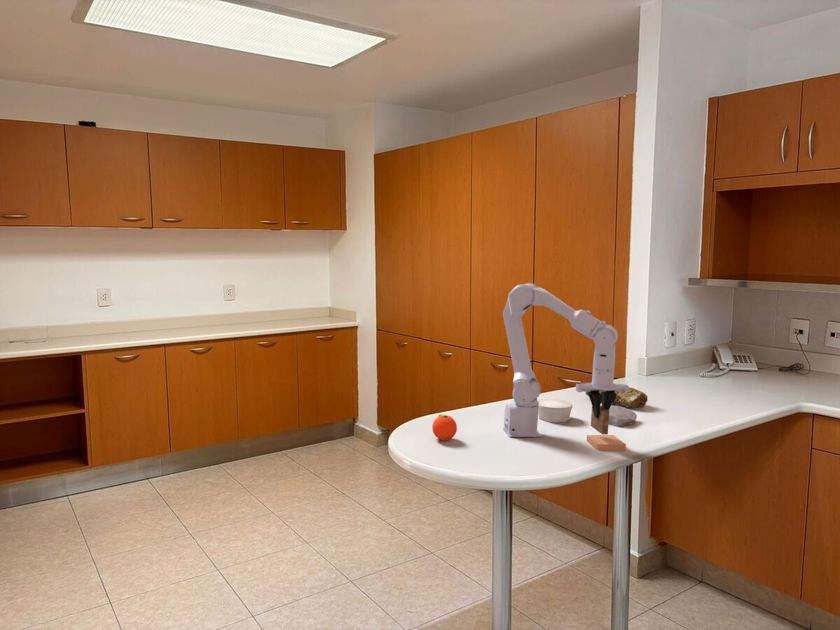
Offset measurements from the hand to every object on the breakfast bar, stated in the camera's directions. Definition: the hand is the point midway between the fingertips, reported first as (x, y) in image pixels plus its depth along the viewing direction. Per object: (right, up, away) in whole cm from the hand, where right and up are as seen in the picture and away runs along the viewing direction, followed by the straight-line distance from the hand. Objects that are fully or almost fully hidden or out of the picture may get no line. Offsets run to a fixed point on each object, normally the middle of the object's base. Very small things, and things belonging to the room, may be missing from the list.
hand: (600, 417), depth 170 cm
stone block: (+13, -6, +26) cm, 29 cm away
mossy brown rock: (+20, -4, +49) cm, 53 cm away
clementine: (-44, -7, +2) cm, 44 cm away
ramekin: (-7, -5, +26) cm, 28 cm away
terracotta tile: (-2, -7, +1) cm, 8 cm away
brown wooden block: (0, -4, +1) cm, 4 cm away
